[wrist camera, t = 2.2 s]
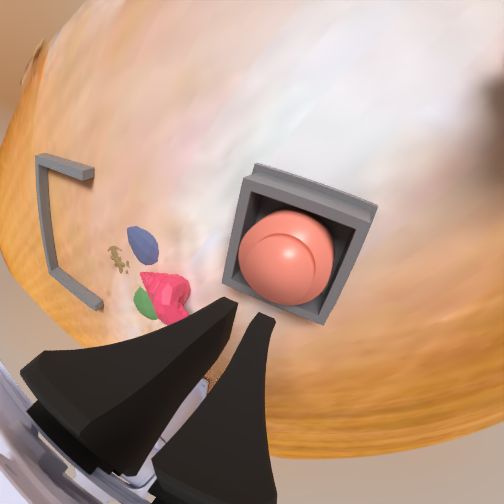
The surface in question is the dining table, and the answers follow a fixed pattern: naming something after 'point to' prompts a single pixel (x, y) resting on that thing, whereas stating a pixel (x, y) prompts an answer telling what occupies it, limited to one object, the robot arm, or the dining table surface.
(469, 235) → the dining table surface
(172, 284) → the toy pieces
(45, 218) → the frame
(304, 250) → the dome
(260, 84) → the dining table surface
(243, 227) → the dome base
